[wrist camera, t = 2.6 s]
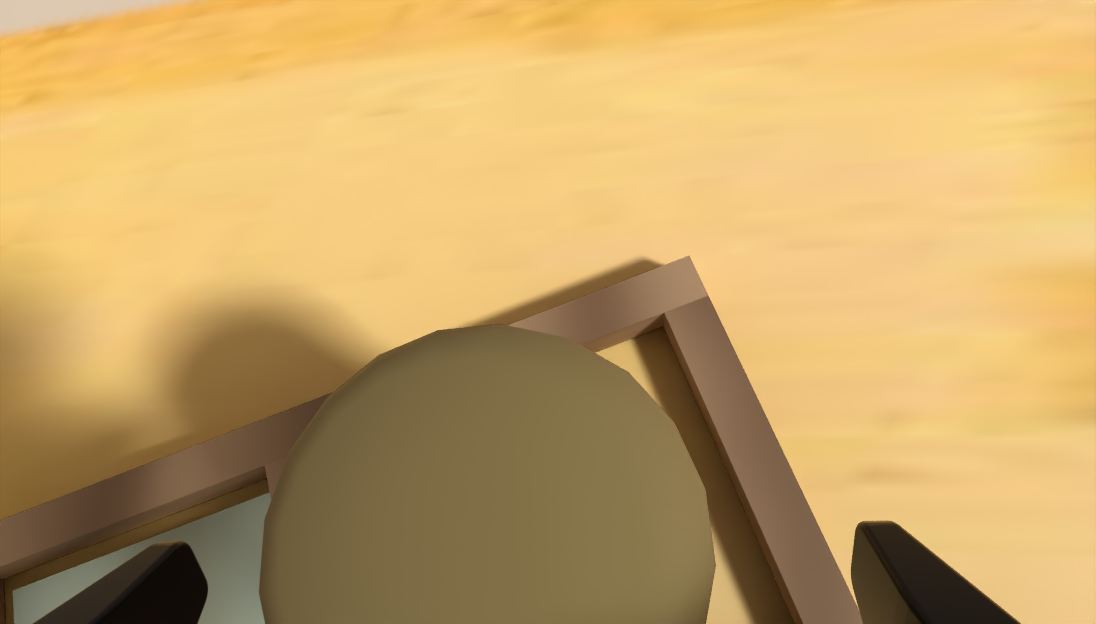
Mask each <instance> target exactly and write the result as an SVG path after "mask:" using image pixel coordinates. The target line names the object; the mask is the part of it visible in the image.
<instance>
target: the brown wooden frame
mask: <svg viewBox="0 0 1096 624" xmlns="http://www.w3.org/2000/svg"><path fill="white" fill-rule="evenodd" d="M508 326H513V327H518V328H523V329H527V330H532V331H537V332H542V333H546V334H551V335H556V336H561V337H565V338H568V339H571V340H573V341H575V342H576V343H578V344H580V345H582V346H583V347H585V348H587V349H589V350H590V351H592V352H594V353H595V352H598V351H600V350H603V349H605V348H608V347H611V346H613V345H616V344H618V343H621V342H624V341H626V340H629V339H632V338H634V337H637V336H639V335H642V334H645V333H647V332H650V331H652V330H655V329H658V328H660V327H663V328H664V330H665V332H666V334H667V337H668V339H669V341H670V343H671V346H672V348H673V350H674V352H675V355H676V357H677V359H678V361H679V364H680V366H681V368H682V370H683V373H684V375H685V377H686V379H687V382H688V384H689V386H690V388H691V391H692V393H693V395H694V398H695V400H696V402H697V404H698V407H699V409H700V411H701V413H702V416H703V418H704V420H705V422H706V425H707V427H708V429H709V431H710V434H711V436H712V438H713V440H714V443H715V445H716V447H717V449H718V452H719V454H720V456H721V458H722V461H723V463H724V465H725V468H726V470H727V472H728V474H729V477H730V479H731V481H732V483H733V486H734V488H735V490H736V492H737V495H738V497H739V499H740V501H741V504H742V506H743V508H744V510H745V513H746V515H747V517H748V519H749V522H750V524H751V526H752V528H753V531H754V533H755V535H756V537H757V540H758V542H759V544H760V547H761V549H762V551H763V553H764V556H765V558H766V560H767V562H768V565H769V567H770V569H771V571H772V574H773V576H774V578H775V580H776V583H777V585H778V587H779V589H780V592H781V594H782V596H783V598H784V601H785V603H786V605H787V607H788V610H789V612H790V614H791V617H792V619H793V621H794V623H795V624H863V622H862V618H861V614H860V611H859V609H858V607H857V605H856V603H855V601H854V599H853V597H852V595H851V593H850V591H849V588H848V586H847V584H846V582H845V580H844V578H843V576H842V574H841V572H840V570H839V568H838V565H837V563H836V561H835V559H834V557H833V555H832V553H831V551H830V549H829V547H828V545H827V542H826V540H825V538H824V536H823V534H822V532H821V530H820V528H819V526H818V524H817V522H816V519H815V517H814V515H813V513H812V511H811V509H810V507H809V505H808V503H807V501H806V499H805V497H804V494H803V492H802V490H801V488H800V486H799V484H798V482H797V480H796V478H795V476H794V474H793V471H792V469H791V467H790V465H789V463H788V461H787V459H786V457H785V455H784V453H783V451H782V448H781V446H780V444H779V442H778V440H777V438H776V436H775V434H774V432H773V430H772V428H771V425H770V423H769V421H768V419H767V417H766V415H765V413H764V411H763V409H762V407H761V405H760V403H759V400H758V398H757V396H756V394H755V392H754V390H753V388H752V386H751V384H750V382H749V380H748V377H747V375H746V373H745V371H744V369H743V367H742V365H741V363H740V361H739V359H738V357H737V354H736V352H735V350H734V348H733V346H732V344H731V342H730V340H729V338H728V336H727V334H726V331H725V329H724V327H723V325H722V323H721V321H720V319H719V317H718V315H717V313H716V311H715V309H714V306H713V304H712V302H711V300H710V298H709V296H708V294H707V292H706V290H705V288H704V286H703V283H702V281H701V279H700V277H699V275H698V273H697V271H696V269H695V267H694V265H693V263H692V260H691V258H690V256H687V257H684V258H682V259H679V260H676V261H674V262H671V263H669V264H666V265H663V266H661V267H658V268H656V269H653V270H650V271H648V272H645V273H643V274H640V275H637V276H635V277H632V278H630V279H627V280H624V281H622V282H619V283H617V284H614V285H611V286H609V287H606V288H604V289H601V290H598V291H596V292H593V293H591V294H588V295H585V296H583V297H580V298H578V299H575V300H572V301H570V302H567V303H564V304H562V305H559V306H557V307H554V308H551V309H549V310H546V311H544V312H541V313H538V314H536V315H533V316H531V317H528V318H525V319H523V320H520V321H518V322H515V323H512V324H510V325H508ZM331 394H332V393H330V394H328V395H325V396H323V397H320V398H317V399H315V400H312V401H310V402H307V403H304V404H302V405H299V406H297V407H294V408H291V409H289V410H286V411H283V412H281V413H278V414H276V415H273V416H270V417H268V418H265V419H263V420H260V421H257V422H255V423H252V424H250V425H247V426H244V427H242V428H239V429H237V430H234V431H231V432H229V433H226V434H224V435H221V436H218V437H216V438H213V439H211V440H208V441H205V442H203V443H200V444H198V445H195V446H192V447H190V448H187V449H185V450H182V451H179V452H177V453H174V454H172V455H169V456H166V457H164V458H161V459H159V460H156V461H153V462H151V463H148V464H146V465H143V466H140V467H138V468H135V469H133V470H130V471H127V472H125V473H122V474H120V475H117V476H114V477H112V478H109V479H107V480H104V481H101V482H99V483H96V484H94V485H91V486H88V487H86V488H83V489H81V490H78V491H75V492H73V493H70V494H68V495H65V496H62V497H60V498H57V499H55V500H52V501H49V502H47V503H44V504H42V505H39V506H36V507H34V508H31V509H29V510H26V511H23V512H21V513H18V514H16V515H13V516H10V517H8V518H5V519H2V520H0V624H5V609H4V586H3V579H5V578H7V577H10V576H12V575H15V574H18V573H20V572H23V571H26V570H28V569H31V568H33V567H36V566H39V565H41V564H44V563H46V562H49V561H52V560H54V559H57V558H59V557H62V556H65V555H67V554H70V553H73V552H75V551H78V550H80V549H83V548H86V547H88V546H91V545H93V544H96V543H99V542H101V541H104V540H107V539H109V538H112V537H114V536H117V535H120V534H122V533H125V532H127V531H130V530H133V529H135V528H138V527H140V526H143V525H146V524H148V523H151V522H154V521H156V520H159V519H161V518H164V517H167V516H169V515H172V514H174V513H177V512H180V511H182V510H185V509H187V508H190V507H193V506H195V505H198V504H201V503H203V502H206V501H208V500H211V499H214V498H216V497H219V496H221V495H224V494H227V493H229V492H232V491H234V490H237V489H240V488H242V487H245V486H248V485H250V484H253V483H255V482H258V481H261V480H263V479H266V478H267V481H268V486H269V493H266V494H264V495H261V496H258V497H256V498H253V499H250V500H248V501H245V502H243V503H240V504H237V505H235V506H232V507H230V508H227V509H224V510H222V511H219V512H216V513H214V514H211V515H209V516H206V517H203V518H201V519H198V520H196V521H193V522H190V523H188V524H185V525H182V526H180V527H177V528H175V529H172V530H169V531H167V532H164V533H162V534H159V535H156V536H154V537H151V538H149V539H146V540H143V541H141V542H138V543H135V544H133V545H130V546H128V547H125V548H122V549H120V550H117V551H115V552H112V553H109V554H107V555H104V556H101V557H99V558H96V559H94V560H91V561H88V562H86V563H83V564H81V565H78V566H75V567H73V568H70V569H67V570H65V571H62V572H60V573H57V574H54V575H52V576H49V577H47V578H44V579H41V580H39V581H36V582H33V583H31V584H28V585H26V586H23V587H20V588H18V589H15V590H13V612H14V624H33V623H34V622H36V621H37V620H39V619H40V618H42V617H43V616H45V615H46V614H48V613H49V612H51V611H52V610H54V609H55V608H57V607H58V606H60V605H61V604H63V603H64V602H66V601H67V600H69V599H70V598H72V597H73V596H75V595H76V594H78V593H79V592H81V591H82V590H84V589H85V588H87V587H88V586H90V585H91V584H93V583H95V582H96V581H98V580H99V579H101V578H102V577H104V576H105V575H107V574H108V573H110V572H111V571H113V570H114V569H116V568H117V567H119V566H120V565H122V564H123V563H125V562H126V561H128V560H129V559H131V558H132V557H134V556H135V555H137V554H138V553H140V552H141V551H143V550H144V549H146V548H147V547H149V546H150V545H152V544H154V543H157V542H167V541H183V542H186V543H187V544H188V545H190V547H191V548H192V550H193V552H194V554H195V556H196V559H197V561H198V563H199V565H200V567H201V569H202V571H203V573H204V575H205V577H206V579H207V583H208V595H207V600H206V603H205V605H204V608H203V611H202V613H201V616H200V619H199V621H198V624H265V620H264V616H263V611H262V606H261V601H260V596H259V582H260V569H261V556H262V543H263V531H264V519H265V516H266V513H267V511H268V508H269V505H270V502H271V500H272V497H273V494H274V491H275V489H276V486H277V483H278V480H279V478H280V475H281V472H282V469H283V466H284V464H285V461H286V458H287V455H288V453H289V451H290V450H291V448H292V447H293V445H294V444H295V443H296V441H297V440H298V438H299V437H300V436H301V434H302V433H303V431H304V430H305V428H306V427H307V426H308V424H309V423H310V421H311V420H312V419H313V417H314V416H315V414H316V413H317V412H318V410H319V409H320V407H321V406H322V404H323V403H324V402H325V400H326V399H327V397H328V396H329V395H331Z"/></svg>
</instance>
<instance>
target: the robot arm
mask: <svg viewBox="0 0 1096 624" xmlns="http://www.w3.org/2000/svg"><path fill="white" fill-rule="evenodd" d="M851 579H852V585H853V589H854V593H855V597H856V600H857V604H858V607H859V611H860V614H861V618H862V622H863V624H1021V623H1020V622H1018V621H1017V620H1016V619H1015V618H1013V617H1012V616H1011V615H1010V614H1009V613H1007V612H1006V611H1005V610H1004V609H1002V608H1001V607H1000V606H999V605H997V604H996V603H995V602H994V601H992V600H991V599H990V598H989V597H987V596H986V595H985V594H984V593H983V592H981V591H980V590H979V589H978V588H976V587H975V586H974V585H973V584H971V583H970V582H969V581H968V580H966V579H965V578H964V577H963V576H961V575H960V574H959V573H958V572H957V571H955V570H954V569H953V568H952V567H950V566H949V565H948V564H947V563H945V562H944V561H943V560H942V559H940V558H939V557H938V556H937V555H935V554H934V553H933V552H932V551H931V550H929V549H928V548H927V547H926V546H924V545H923V544H922V543H921V542H919V541H918V540H917V539H916V538H914V537H913V536H912V535H911V534H909V533H908V532H907V531H906V530H904V529H903V528H902V527H901V526H900V525H898V524H897V523H895V522H892V521H863V522H860V523H859V524H858V525H857V527H856V530H855V538H854V546H853V555H852V563H851ZM207 595H208V583H207V579H206V577H205V575H204V573H203V571H202V569H201V567H200V565H199V563H198V561H197V559H196V556H195V554H194V552H193V550H192V548H191V547H190V545H188V544H187V543H186V542H183V541H167V542H157V543H154V544H152V545H150V546H149V547H147V548H146V549H144V550H143V551H141V552H140V553H138V554H137V555H135V556H134V557H132V558H131V559H129V560H128V561H126V562H125V563H123V564H122V565H120V566H119V567H117V568H116V569H114V570H113V571H111V572H110V573H108V574H107V575H105V576H104V577H102V578H101V579H99V580H98V581H96V582H95V583H93V584H91V585H90V586H88V587H87V588H85V589H84V590H82V591H81V592H79V593H78V594H76V595H75V596H73V597H72V598H70V599H69V600H67V601H66V602H64V603H63V604H61V605H60V606H58V607H57V608H55V609H54V610H52V611H51V612H49V613H48V614H46V615H45V616H43V617H42V618H40V619H39V620H37V621H36V622H34V623H33V624H198V621H199V619H200V616H201V613H202V611H203V608H204V605H205V603H206V600H207Z"/></svg>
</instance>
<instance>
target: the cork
mask: <svg viewBox="0 0 1096 624" xmlns="http://www.w3.org/2000/svg"><path fill="white" fill-rule="evenodd" d="M715 567H716V564H715V556H714V549H713V541H712V534H711V526H710V519H709V512H708V504H707V497H706V489H705V487H704V485H703V483H702V480H701V478H700V476H699V474H698V472H697V470H696V468H695V465H694V463H693V461H692V459H691V457H690V455H689V452H688V450H687V448H686V446H685V444H684V442H683V440H682V437H681V435H680V433H679V431H678V429H677V427H676V425H675V423H674V421H673V420H672V419H671V418H670V417H669V416H668V415H667V414H666V413H665V412H664V411H663V409H662V408H661V407H660V406H659V405H658V404H657V403H656V402H655V401H654V400H653V399H652V397H651V396H650V395H649V394H648V393H647V392H646V391H645V390H644V389H643V388H642V386H641V385H640V384H639V383H638V382H637V381H636V380H635V379H634V378H633V377H632V376H631V374H630V373H629V372H627V371H625V370H624V369H622V368H620V367H618V366H617V365H615V364H613V363H611V362H610V361H608V360H606V359H604V358H603V357H601V356H599V355H597V354H596V353H594V352H592V351H590V350H589V349H587V348H585V347H583V346H582V345H580V344H578V343H576V342H575V341H573V340H571V339H568V338H565V337H561V336H556V335H551V334H546V333H542V332H537V331H532V330H527V329H523V328H518V327H513V326H508V325H504V324H495V325H485V326H475V327H465V328H455V329H446V330H437V331H435V332H433V333H430V334H428V335H426V336H423V337H421V338H418V339H416V340H414V341H411V342H409V343H407V344H404V345H402V346H399V347H397V348H395V349H392V350H390V351H388V352H385V353H383V354H380V355H379V356H377V357H376V358H375V359H374V360H372V361H371V362H370V363H369V364H368V365H366V366H365V367H364V368H363V369H361V370H360V371H359V372H358V373H356V374H355V375H354V376H353V377H352V378H350V379H349V380H348V381H347V382H345V383H344V384H343V385H342V386H340V387H339V388H338V389H337V390H336V391H334V392H333V393H332V394H331V395H329V396H328V397H327V399H326V400H325V402H324V403H323V404H322V406H321V407H320V409H319V410H318V412H317V413H316V414H315V416H314V417H313V419H312V420H311V421H310V423H309V424H308V426H307V427H306V428H305V430H304V431H303V433H302V434H301V436H300V437H299V438H298V440H297V441H296V443H295V444H294V445H293V447H292V448H291V450H290V451H289V453H288V455H287V458H286V461H285V464H284V466H283V469H282V472H281V475H280V478H279V480H278V483H277V486H276V489H275V491H274V494H273V497H272V500H271V502H270V505H269V508H268V511H267V513H266V516H265V519H264V531H263V543H262V556H261V569H260V582H259V596H260V601H261V606H262V611H263V616H264V620H265V624H706V619H707V614H708V608H709V602H710V596H711V590H712V584H713V579H714V573H715Z"/></svg>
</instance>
